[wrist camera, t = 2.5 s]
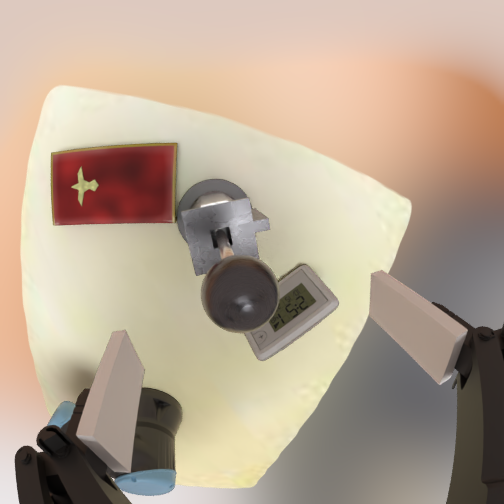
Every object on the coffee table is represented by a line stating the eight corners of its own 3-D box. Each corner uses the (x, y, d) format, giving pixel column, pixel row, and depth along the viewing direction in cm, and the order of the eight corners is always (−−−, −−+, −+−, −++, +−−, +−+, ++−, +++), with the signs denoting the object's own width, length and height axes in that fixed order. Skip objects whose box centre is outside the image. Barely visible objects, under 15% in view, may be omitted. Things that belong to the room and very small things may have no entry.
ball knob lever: (204, 255, 34) (213, 356, 16) (195, 216, 32) (191, 283, 14) (243, 247, 34) (293, 337, 16) (236, 208, 33) (285, 262, 15)
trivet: (186, 259, 45) (186, 260, 44) (170, 187, 41) (169, 188, 40) (257, 244, 46) (258, 245, 45) (245, 172, 42) (246, 172, 41)
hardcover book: (177, 219, 43) (174, 225, 39) (63, 222, 39) (52, 227, 35) (179, 145, 39) (176, 142, 35) (62, 153, 35) (50, 152, 31)
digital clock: (307, 258, 49) (334, 281, 39) (322, 297, 52) (347, 325, 42) (227, 299, 48) (234, 333, 38) (248, 335, 52) (259, 371, 42)
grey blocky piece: (194, 248, 44) (193, 279, 32) (183, 197, 41) (176, 209, 29) (256, 235, 45) (278, 260, 33) (248, 184, 42) (267, 191, 30)
